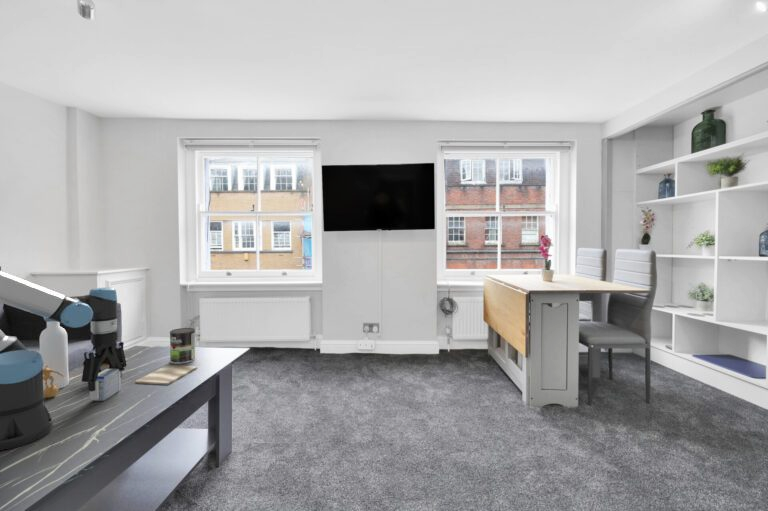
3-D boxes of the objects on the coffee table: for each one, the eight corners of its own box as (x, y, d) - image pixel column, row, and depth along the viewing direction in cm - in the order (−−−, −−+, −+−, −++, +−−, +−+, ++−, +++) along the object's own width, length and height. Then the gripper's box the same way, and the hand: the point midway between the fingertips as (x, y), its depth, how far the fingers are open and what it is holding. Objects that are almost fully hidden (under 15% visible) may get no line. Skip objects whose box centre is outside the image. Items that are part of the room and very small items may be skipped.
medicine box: (106, 391, 132) (106, 368, 132) (119, 391, 133) (119, 368, 132) (91, 401, 125) (90, 376, 124) (105, 400, 125) (104, 376, 125)
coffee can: (182, 365, 161) (182, 334, 160) (164, 362, 164) (164, 332, 163) (200, 357, 171) (200, 328, 170) (183, 355, 174) (183, 326, 173)
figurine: (68, 393, 131) (67, 360, 130) (60, 400, 125) (59, 366, 125) (39, 396, 128) (37, 363, 127) (29, 403, 122) (28, 369, 122)
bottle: (64, 381, 142) (62, 305, 141) (72, 385, 138) (70, 308, 136) (37, 388, 135) (34, 309, 134) (44, 392, 131) (42, 311, 130)
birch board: (168, 384, 139) (168, 382, 139) (135, 383, 141) (135, 381, 141) (197, 368, 157) (197, 366, 157) (167, 366, 158) (167, 365, 158)
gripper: (86, 339, 117) (88, 408, 118) (137, 324, 138) (138, 382, 139) (65, 339, 118) (67, 406, 118) (119, 324, 139) (121, 381, 140)
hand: (105, 393), depth 129 cm, fingers closed on medicine box, 8 cm apart
